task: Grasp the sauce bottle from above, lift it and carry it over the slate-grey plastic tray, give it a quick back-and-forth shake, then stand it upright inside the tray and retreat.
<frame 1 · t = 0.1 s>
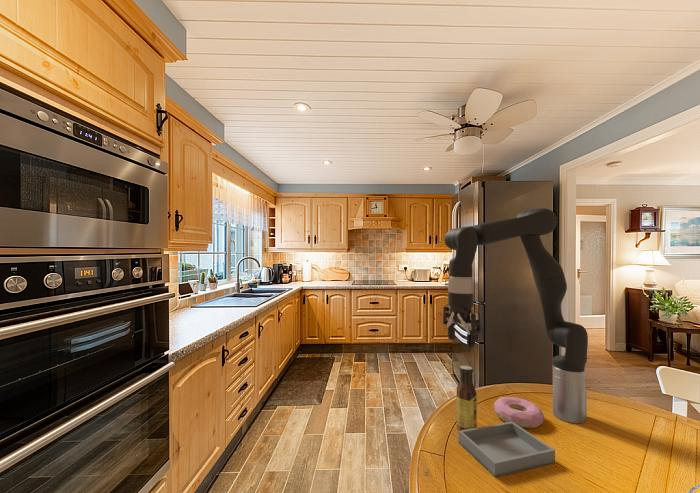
hand: (460, 342, 97), 29 cm above the table, tool pointing down, fingers open, 8 cm apart
tray: (504, 452, 89), on the table
sauce bottle: (466, 429, 100), on the table
donut: (518, 419, 108), on the table
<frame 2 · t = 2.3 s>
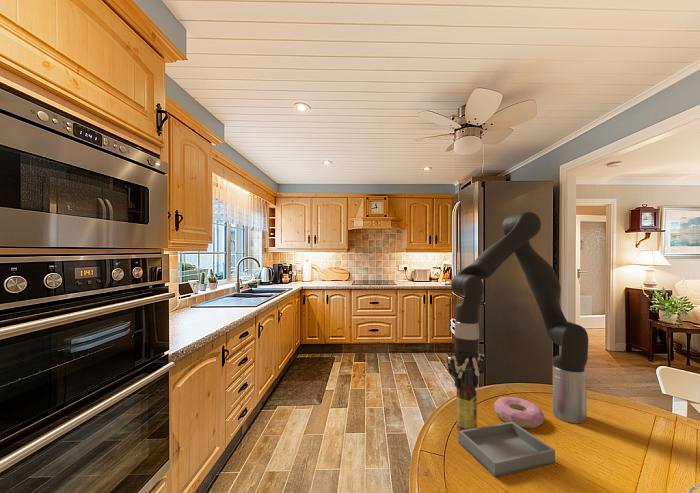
hand: (466, 387, 101), 13 cm above the table, tool pointing down, fingers open, 5 cm apart
sauce bottle: (466, 429, 100), on the table, touching gripper
everything else where it was.
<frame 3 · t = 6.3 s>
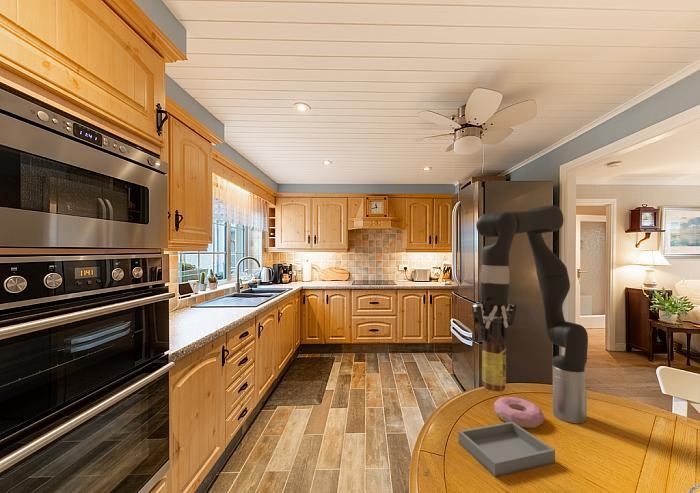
hand: (493, 340, 89), 32 cm above the table, tool pointing down, fingers closed on sauce bottle, 5 cm apart
sauce bottle: (493, 388, 88), point 19 cm above the table, touching gripper
everything else where it was.
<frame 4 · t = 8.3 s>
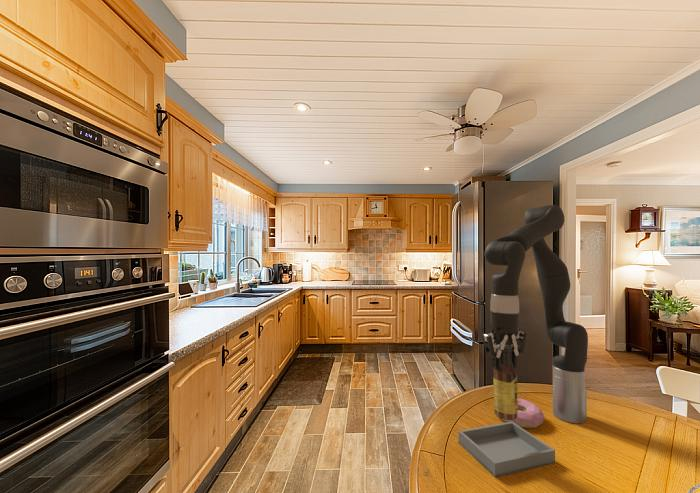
hand: (504, 368, 89), 24 cm above the table, tool pointing down, fingers closed on sauce bottle, 5 cm apart
sauce bottle: (505, 416, 89), point 10 cm above the table, touching gripper
everything else where it was.
when the fingers open (15 cm above the table, at t = 10.0 s): sauce bottle drops 1 cm, resting on tray.
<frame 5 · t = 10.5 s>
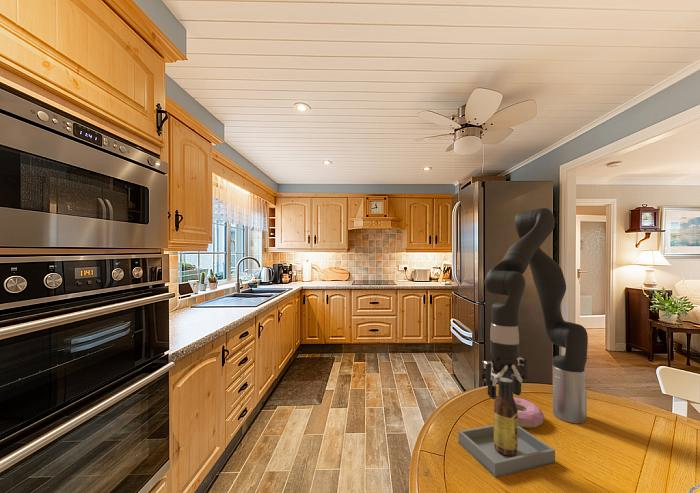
hand: (504, 396, 89), 16 cm above the table, tool pointing down, fingers open, 8 cm apart
sauce bottle: (505, 450, 89), resting on tray
everything else where it was.
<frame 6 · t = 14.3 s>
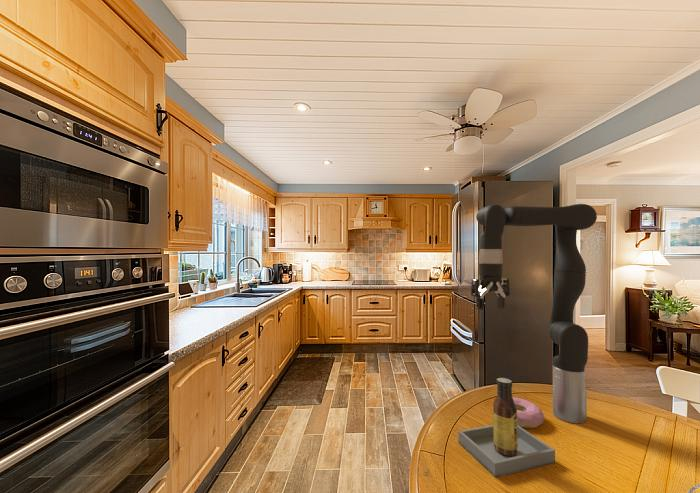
hand: (490, 308, 107), 38 cm above the table, tool pointing down, fingers open, 8 cm apart
nothing on the table moved.
at the end: sauce bottle inside the target area on the tray (0.2 cm from its centre), point 0.4 cm above the tray's base; sauce bottle tilted 0°; the gripper is holding nothing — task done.
